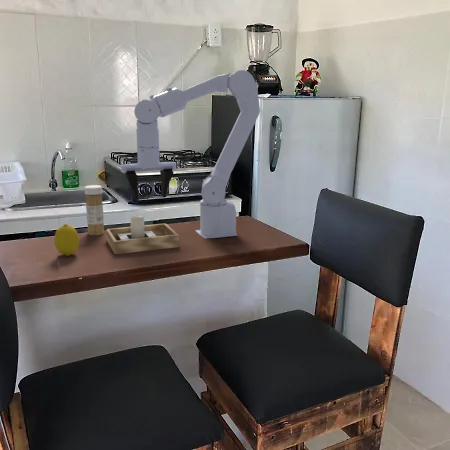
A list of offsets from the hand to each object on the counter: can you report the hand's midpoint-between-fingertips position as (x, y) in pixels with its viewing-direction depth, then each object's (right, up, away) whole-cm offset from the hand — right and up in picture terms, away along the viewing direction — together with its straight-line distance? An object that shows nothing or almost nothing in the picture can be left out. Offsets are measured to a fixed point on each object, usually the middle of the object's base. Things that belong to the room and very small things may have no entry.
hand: (150, 197), depth 136 cm
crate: (-1, -13, -7) cm, 14 cm away
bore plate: (-2, -12, -7) cm, 14 cm away
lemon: (-17, -15, -15) cm, 28 cm away
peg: (-2, -12, -7) cm, 14 cm away
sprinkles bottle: (-15, -10, +3) cm, 19 cm away
